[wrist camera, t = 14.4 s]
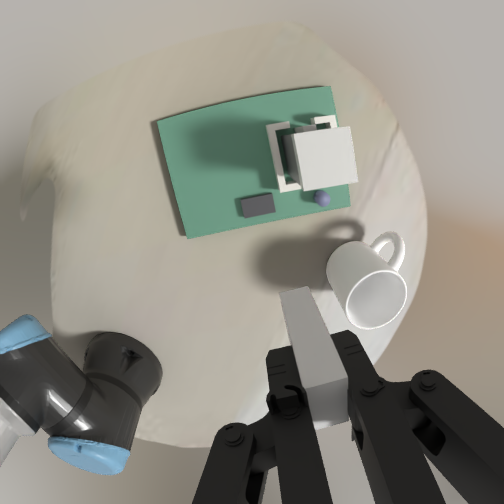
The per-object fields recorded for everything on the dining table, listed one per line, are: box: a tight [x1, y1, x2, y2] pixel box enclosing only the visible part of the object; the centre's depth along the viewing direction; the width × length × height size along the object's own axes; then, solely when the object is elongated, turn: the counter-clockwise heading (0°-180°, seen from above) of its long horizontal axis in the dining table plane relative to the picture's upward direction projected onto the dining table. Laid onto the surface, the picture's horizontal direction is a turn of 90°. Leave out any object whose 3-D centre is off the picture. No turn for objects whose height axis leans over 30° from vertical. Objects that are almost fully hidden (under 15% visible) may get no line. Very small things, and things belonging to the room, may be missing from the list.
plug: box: [281, 124, 358, 191], centre depth 30 cm, size 5×6×11 cm
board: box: [157, 86, 351, 239], centre depth 35 cm, size 22×16×3 cm
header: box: [266, 115, 337, 193], centre depth 34 cm, size 8×8×2 cm
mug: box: [326, 232, 407, 329], centre depth 37 cm, size 12×8×10 cm
